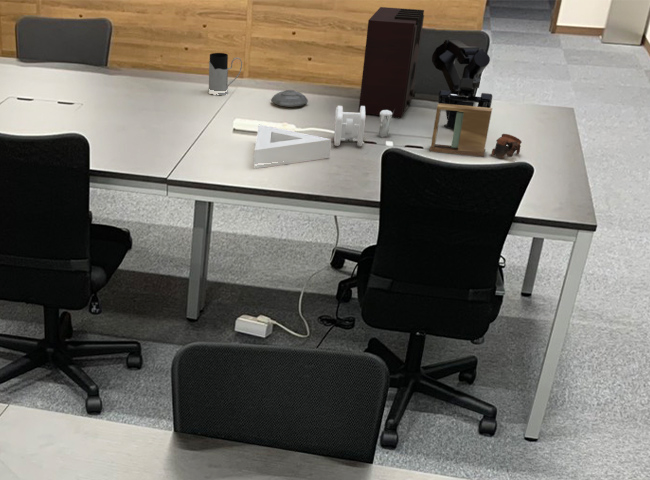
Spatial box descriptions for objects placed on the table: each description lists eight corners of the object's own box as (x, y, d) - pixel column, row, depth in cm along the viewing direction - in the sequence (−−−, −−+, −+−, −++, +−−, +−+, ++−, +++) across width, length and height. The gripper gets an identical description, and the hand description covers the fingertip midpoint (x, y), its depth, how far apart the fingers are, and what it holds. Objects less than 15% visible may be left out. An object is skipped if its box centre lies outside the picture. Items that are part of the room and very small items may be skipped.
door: (453, 141, 352) (459, 106, 345) (478, 143, 350) (485, 109, 343) (450, 147, 347) (456, 112, 340) (476, 149, 345) (483, 114, 337)
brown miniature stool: (484, 154, 348) (495, 131, 346) (505, 165, 351) (516, 142, 349) (501, 155, 337) (512, 132, 335) (522, 166, 340) (534, 143, 338)
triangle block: (253, 168, 333) (254, 150, 329) (221, 147, 352) (221, 129, 348) (329, 157, 343) (331, 139, 339) (293, 137, 362) (295, 119, 358)
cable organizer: (362, 149, 350) (365, 116, 343) (332, 148, 351) (335, 115, 344) (361, 137, 362) (365, 104, 355) (333, 135, 363) (336, 103, 356)
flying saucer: (315, 105, 395) (316, 91, 392) (286, 111, 389) (287, 97, 385) (291, 97, 405) (292, 83, 402) (263, 102, 399) (264, 88, 395)
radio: (358, 114, 385) (368, 17, 364) (370, 97, 406) (380, 4, 384) (405, 119, 381) (419, 21, 359) (415, 101, 401) (428, 7, 380)
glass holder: (206, 90, 413) (206, 52, 404) (239, 89, 415) (240, 51, 406) (208, 96, 406) (209, 57, 397) (242, 95, 408) (244, 56, 399)
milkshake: (391, 138, 361) (395, 110, 355) (376, 137, 362) (380, 109, 356) (391, 134, 364) (395, 106, 358) (377, 133, 365) (380, 105, 359)
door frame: (431, 146, 353) (438, 102, 343) (485, 152, 348) (493, 107, 338) (429, 151, 349) (436, 106, 339) (483, 156, 344) (492, 111, 334)
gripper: (443, 65, 349) (434, 105, 348) (497, 70, 344) (488, 111, 343) (443, 83, 360) (434, 122, 358) (495, 87, 355) (486, 127, 353)
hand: (460, 120), depth 353 cm, fingers open, 9 cm apart
